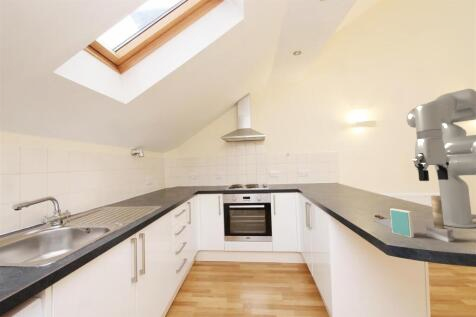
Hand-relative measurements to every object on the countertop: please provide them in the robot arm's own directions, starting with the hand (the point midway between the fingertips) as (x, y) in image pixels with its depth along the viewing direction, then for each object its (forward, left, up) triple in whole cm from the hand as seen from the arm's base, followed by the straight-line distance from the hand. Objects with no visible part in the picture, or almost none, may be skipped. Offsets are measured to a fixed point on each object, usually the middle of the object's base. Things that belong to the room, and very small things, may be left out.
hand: (433, 180), depth 84 cm
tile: (+7, -9, -22) cm, 25 cm away
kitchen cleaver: (-5, -28, -23) cm, 36 cm away
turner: (0, 0, -22) cm, 22 cm away
